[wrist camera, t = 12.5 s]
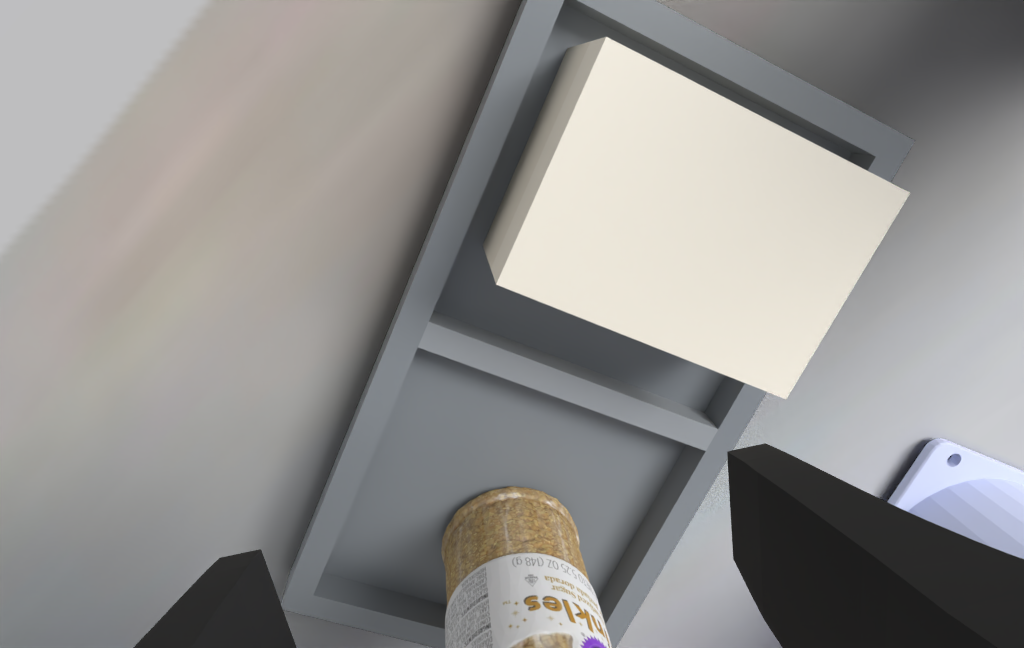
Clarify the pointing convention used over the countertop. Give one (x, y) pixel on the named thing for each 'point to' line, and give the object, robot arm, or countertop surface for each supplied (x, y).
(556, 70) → the tray
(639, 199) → the plain cream box
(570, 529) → the sprinkles bottle
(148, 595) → the countertop surface
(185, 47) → the countertop surface
